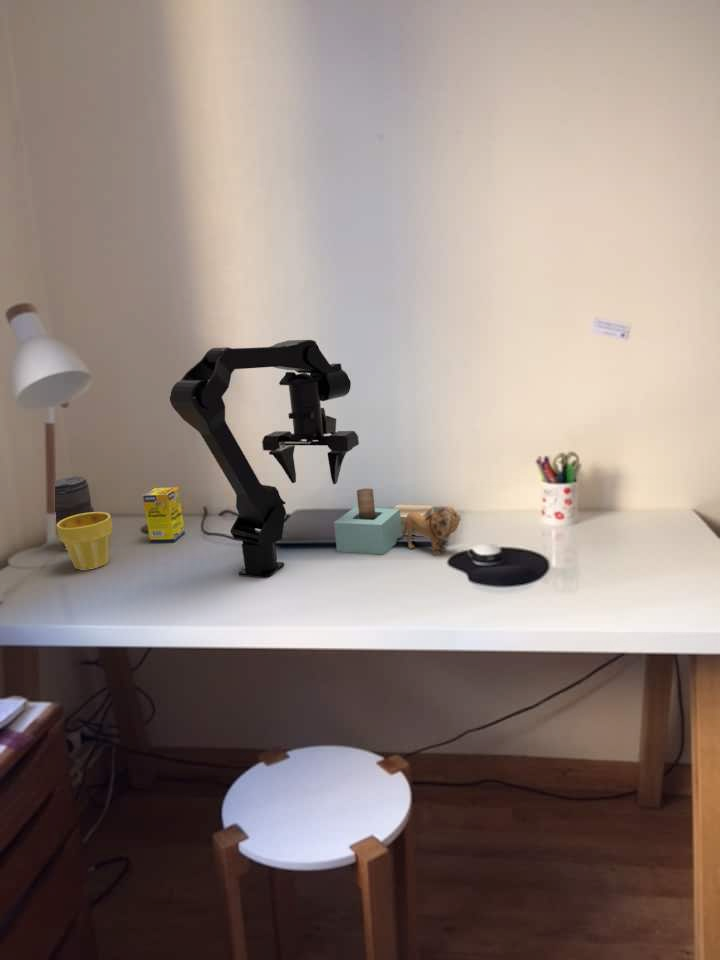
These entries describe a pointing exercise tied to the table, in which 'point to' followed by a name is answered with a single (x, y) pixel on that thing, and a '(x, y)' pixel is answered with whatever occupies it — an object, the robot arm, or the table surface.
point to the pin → (366, 504)
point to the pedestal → (407, 509)
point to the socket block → (368, 531)
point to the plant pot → (86, 538)
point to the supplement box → (163, 515)
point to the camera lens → (71, 498)
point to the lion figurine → (432, 527)
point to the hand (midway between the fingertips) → (314, 483)
